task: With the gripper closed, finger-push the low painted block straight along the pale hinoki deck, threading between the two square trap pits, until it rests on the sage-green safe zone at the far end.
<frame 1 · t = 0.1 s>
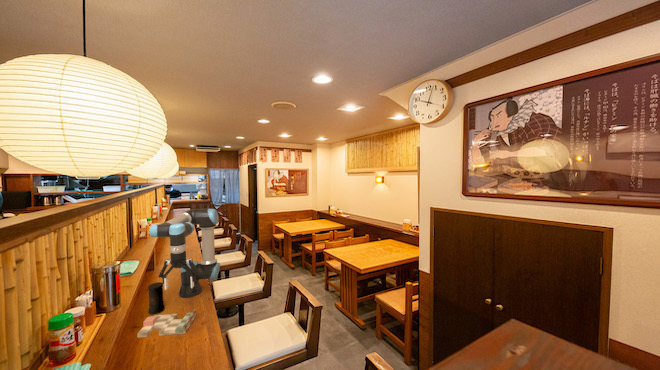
hand: (179, 287, 141), 28 cm above the counter, fingers open, 13 cm apart
container: (156, 311, 166), on the counter
block: (150, 323, 149), point 2 cm above the counter, touching deck
deck: (168, 326, 150), on the counter
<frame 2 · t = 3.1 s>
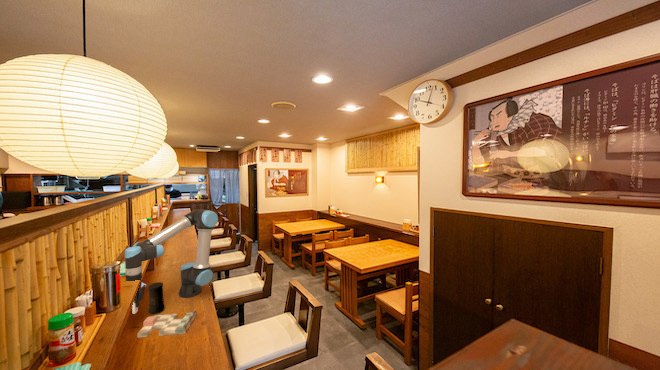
hand: (135, 312, 146), 11 cm above the counter, fingers closed
nothing on the counter moved.
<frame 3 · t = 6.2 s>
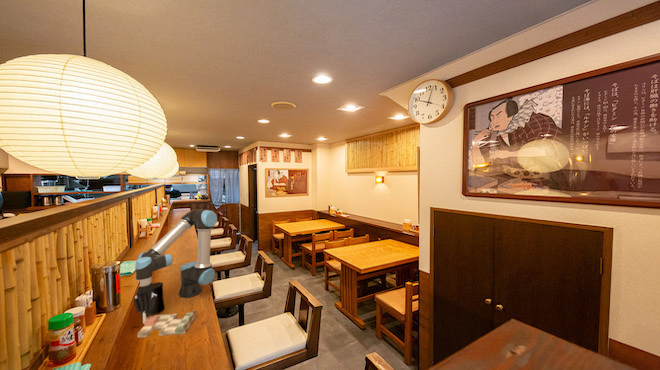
hand: (145, 322, 148), 4 cm above the counter, fingers closed
block: (151, 323, 149), point 3 cm above the counter
everything else where it was.
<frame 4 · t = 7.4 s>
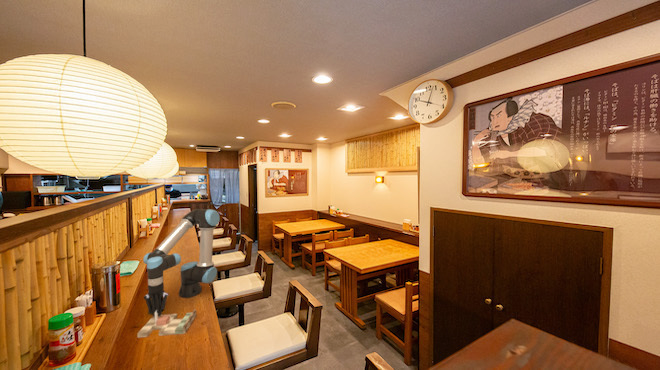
hand: (157, 321, 149), 4 cm above the counter, fingers closed
block: (163, 322, 150), point 3 cm above the counter, touching gripper
everything else where it was.
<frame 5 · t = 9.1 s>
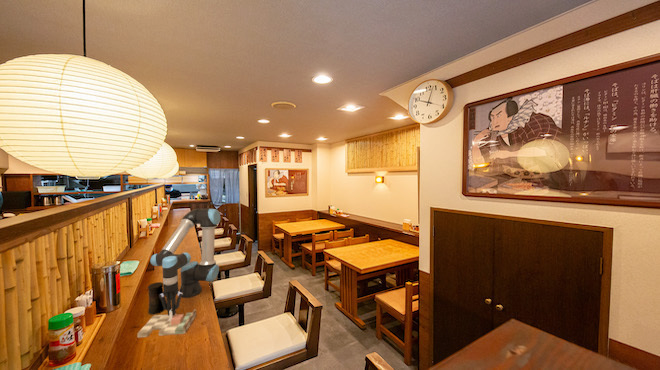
hand: (172, 320, 150), 4 cm above the counter, fingers closed
block: (177, 321, 151), point 2 cm above the counter, touching deck, gripper
everything else where it was.
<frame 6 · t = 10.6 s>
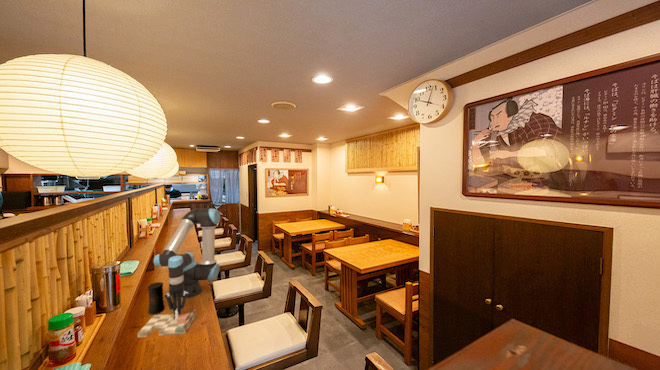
hand: (177, 319, 151), 4 cm above the counter, fingers closed
block: (183, 321, 151), point 2 cm above the counter, touching deck, gripper
everything else where it was.
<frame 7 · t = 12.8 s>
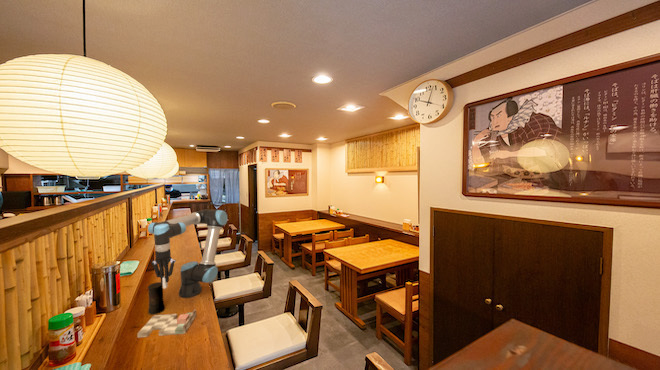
hand: (165, 287, 151), 23 cm above the counter, fingers closed
block: (183, 321, 151), point 2 cm above the counter, touching deck
everything else where it was.
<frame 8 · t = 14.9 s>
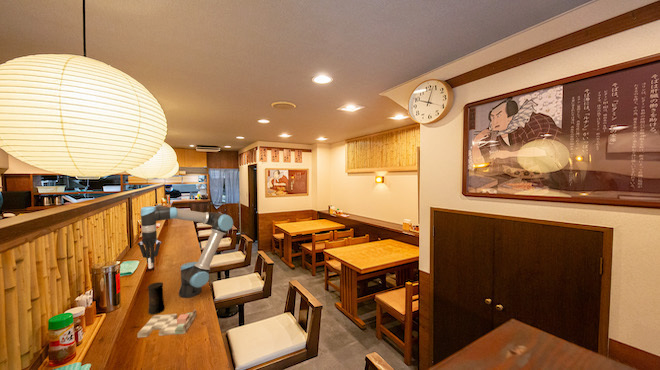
hand: (150, 267, 157), 32 cm above the counter, fingers closed
nothing on the counter moved.
at the end: block inside the target area on the deck (0.5 cm from its centre), point 2.5 cm above the deck's base; block tilted 0° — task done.
